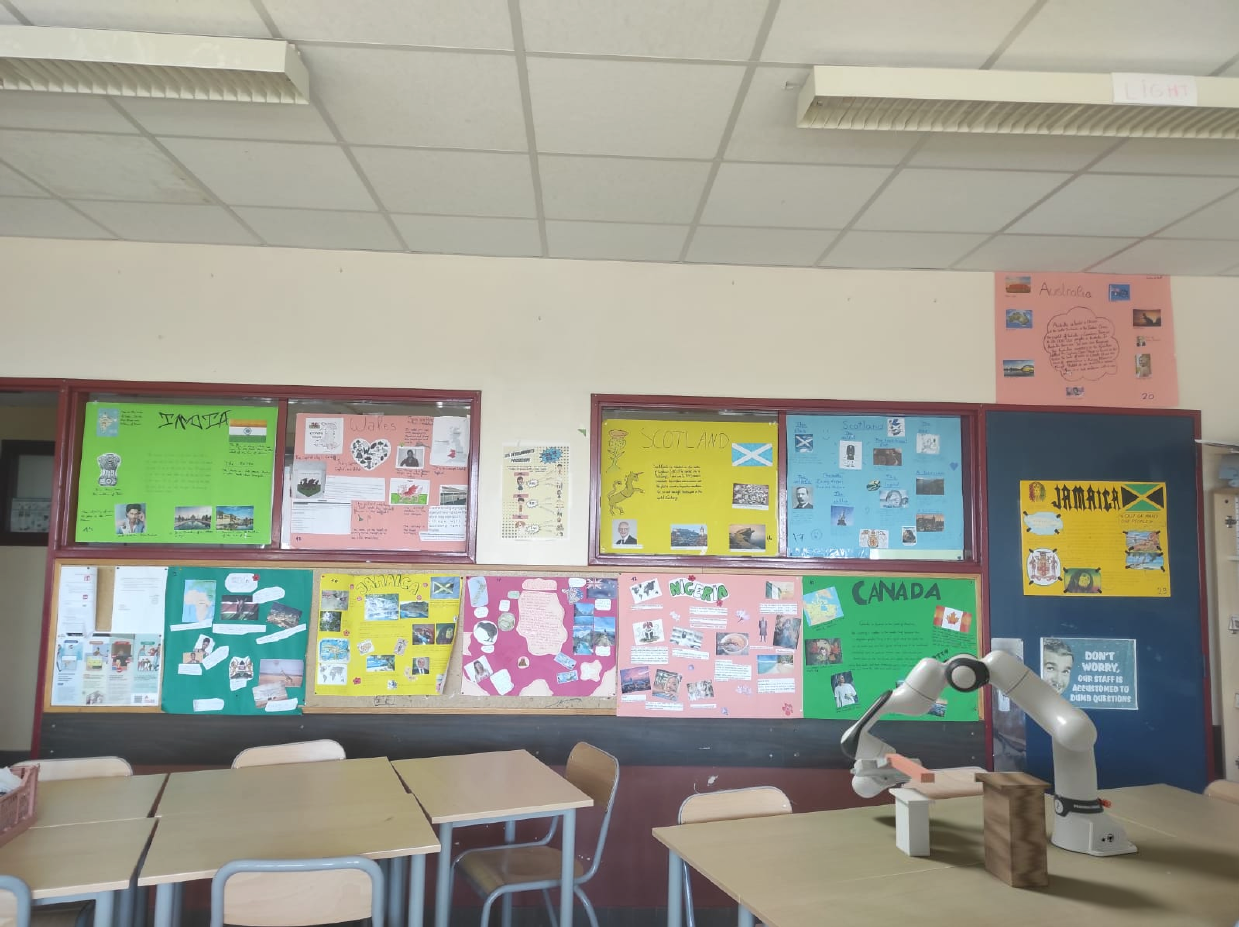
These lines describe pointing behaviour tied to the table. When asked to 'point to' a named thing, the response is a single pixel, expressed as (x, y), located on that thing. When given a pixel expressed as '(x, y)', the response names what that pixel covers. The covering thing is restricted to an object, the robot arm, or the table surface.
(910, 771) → the salmon pink flat bar
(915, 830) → the stand
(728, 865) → the table surface
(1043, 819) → the brown pedestal
